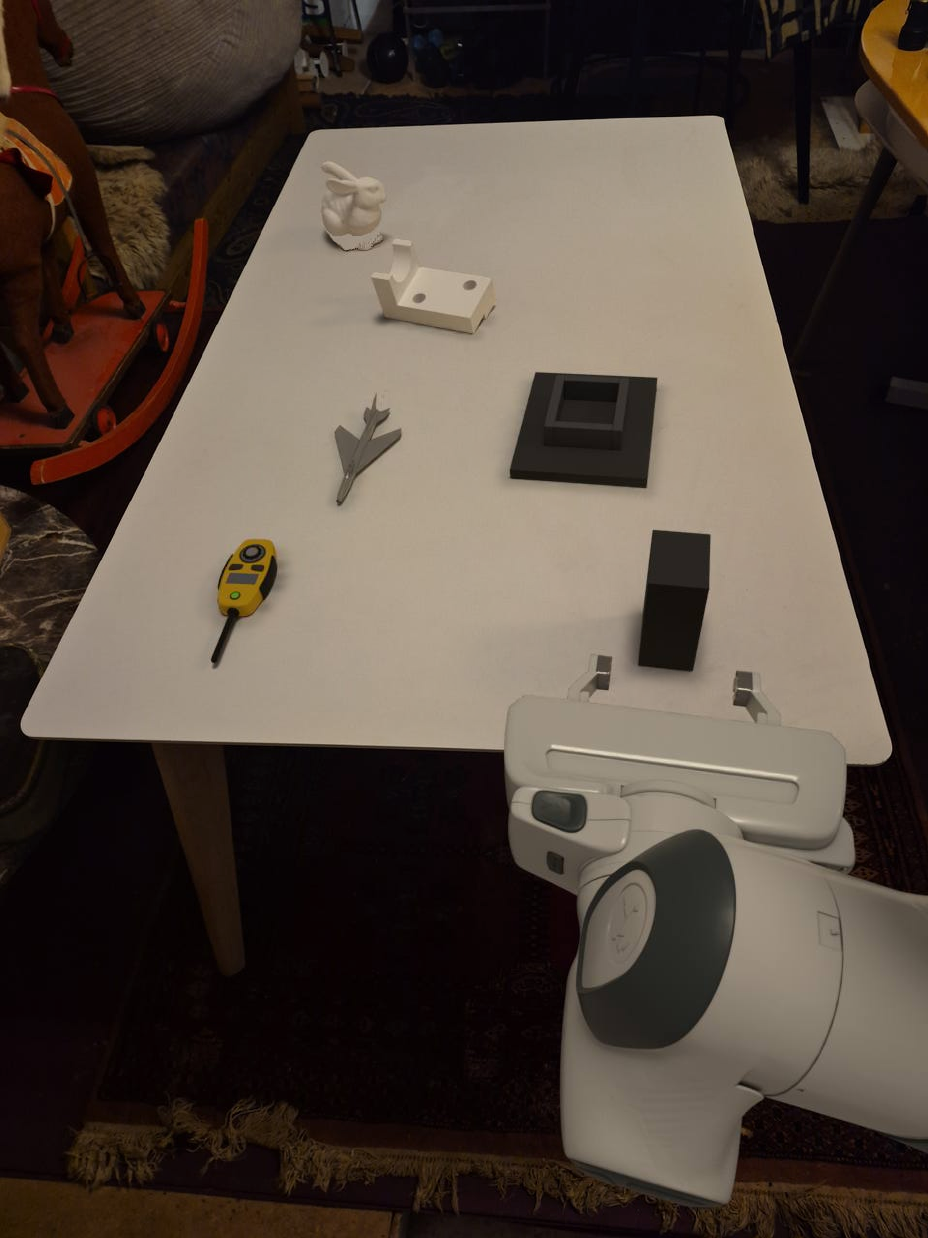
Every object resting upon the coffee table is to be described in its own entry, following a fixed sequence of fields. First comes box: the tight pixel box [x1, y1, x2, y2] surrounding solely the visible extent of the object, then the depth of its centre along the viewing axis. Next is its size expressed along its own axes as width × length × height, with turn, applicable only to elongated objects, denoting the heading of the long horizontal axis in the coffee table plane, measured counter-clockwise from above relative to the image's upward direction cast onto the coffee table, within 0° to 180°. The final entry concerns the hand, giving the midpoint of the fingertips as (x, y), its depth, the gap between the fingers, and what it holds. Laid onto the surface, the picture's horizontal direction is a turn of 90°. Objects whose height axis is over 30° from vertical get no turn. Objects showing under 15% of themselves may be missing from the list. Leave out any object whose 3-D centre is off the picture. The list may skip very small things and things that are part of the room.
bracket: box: [370, 238, 497, 334], centre depth 110 cm, size 13×7×8 cm, turn 64°
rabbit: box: [320, 160, 388, 252], centre depth 124 cm, size 12×9×12 cm
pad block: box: [637, 529, 712, 672], centre depth 70 cm, size 4×6×10 cm
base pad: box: [509, 371, 658, 488], centre depth 92 cm, size 14×18×4 cm
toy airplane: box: [334, 389, 402, 504], centre depth 94 cm, size 8×21×2 cm, turn 169°
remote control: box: [210, 538, 278, 664], centre depth 79 cm, size 5×2×15 cm
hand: (672, 668), depth 57 cm, fingers open, 8 cm apart
